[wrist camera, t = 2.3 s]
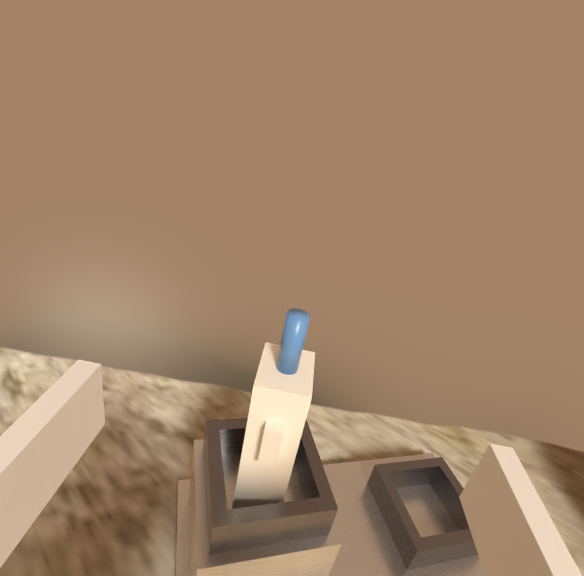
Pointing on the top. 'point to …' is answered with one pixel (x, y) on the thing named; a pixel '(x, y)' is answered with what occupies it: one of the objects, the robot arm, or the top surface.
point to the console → (322, 516)
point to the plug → (276, 416)
